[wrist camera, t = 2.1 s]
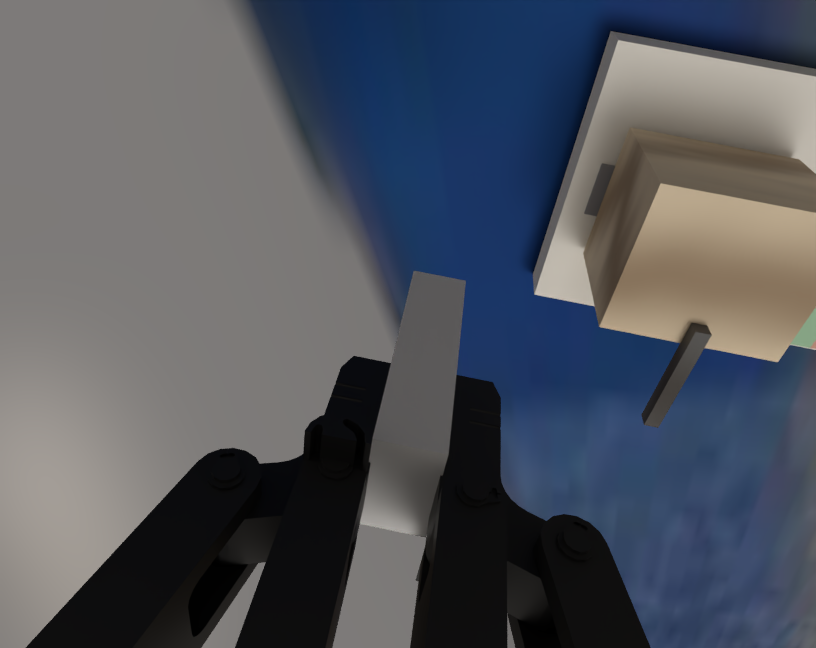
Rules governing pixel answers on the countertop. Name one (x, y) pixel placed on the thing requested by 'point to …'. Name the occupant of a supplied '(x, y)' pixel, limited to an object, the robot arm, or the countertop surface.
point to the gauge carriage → (703, 251)
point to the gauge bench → (674, 115)
